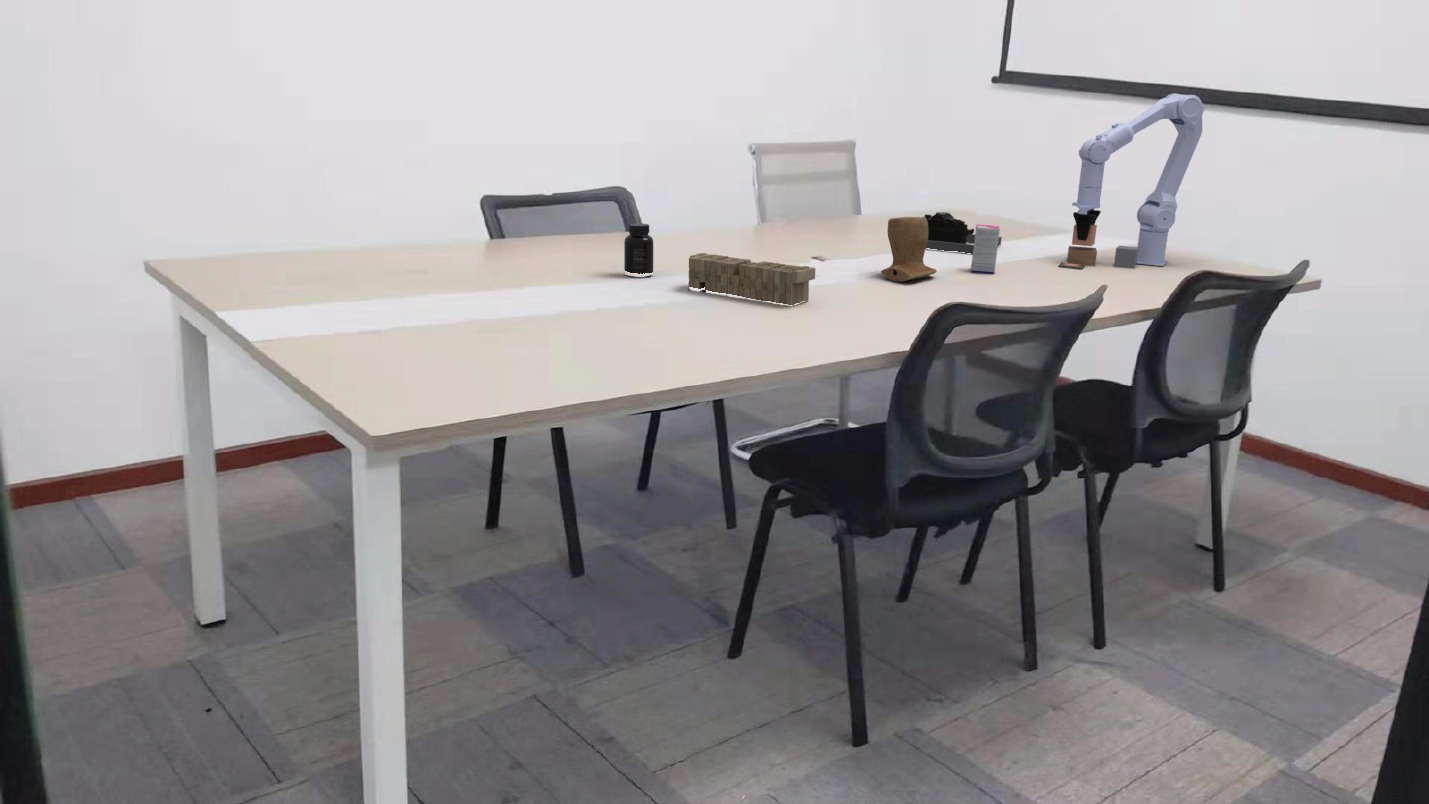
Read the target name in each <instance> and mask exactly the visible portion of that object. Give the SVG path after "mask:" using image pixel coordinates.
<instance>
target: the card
mask: <svg viewBox="0 0 1429 804" xmlns="http://www.w3.org/2000/svg"><path fill="white" fill-rule="evenodd" d="M1057 268H1065V269H1074V270H1083V269H1084V268H1086V265H1079V264H1070V263H1067V262H1060V263H1059V264H1058V266H1057Z"/></svg>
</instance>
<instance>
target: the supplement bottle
mask: <svg viewBox="0 0 1429 804" xmlns="http://www.w3.org/2000/svg"><path fill="white" fill-rule="evenodd" d="M627 232H628V235H627V236H626V237H625V238H624V241H623V242H624V243H623V246H624V249H623V250H624V252H623V253H624V255H623V256H624V257H623V258H624V259H623V260H624V263H623V267H624V270H625V271H627V272H630V273H638V274H640V273H641V274H643V273H644V274H645V273H652V272H653V273H654V239H653V237H652V236H651V235H649V234H650V224H648V223H634V222H633V223H630V224H628V230H627ZM624 270H623V271H624Z"/></svg>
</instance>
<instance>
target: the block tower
mask: <svg viewBox="0 0 1429 804" xmlns="http://www.w3.org/2000/svg"><path fill="white" fill-rule="evenodd" d="M815 279H816V267H810V266H807V265H802V266H801V265H791V264H784V263H780V262H770V261H764V260H763V261H760V262H753V261H752V259H749V258H739V257H738V258H737V257H729V256H728V255H722V254H721V255H720V254H719V255H718V254H710V253H706V252H700V253H695V254H692V255H689V258H688V288H689V287H693V288H698V289H701V288H704V287H705V290H708V291H712V292H718V293H726V294H732V295H737V296H742V297H746V298H751V299H756V300H761V301H771V302H776V303H783V304H788V305H794V304H796V303H800V302H802V301H807V302H809V301H808V300H809V297H810V296H809V295H810V294H809V293H810V290H809V289H810V287H809V286H810V281H812V280H815Z"/></svg>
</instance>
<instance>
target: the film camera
mask: <svg viewBox="0 0 1429 804" xmlns="http://www.w3.org/2000/svg"><path fill="white" fill-rule="evenodd" d="M924 217H925V218H926V219H927V222H928V240H931V241H941V242H951V243H961V244H967V243H966V238H967V235H969V234H970V235H971V234H974V233H975V228H970V229H969V228H968V224H967V223H965V221H963V220H961V219H957V218H955V217H954V216H953V215H952V213H949V212H946V211H943V212H940V211H939V212H938V211H937V212H936V213H935V214H933V215H931V214H927V213H926V214H924Z"/></svg>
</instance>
